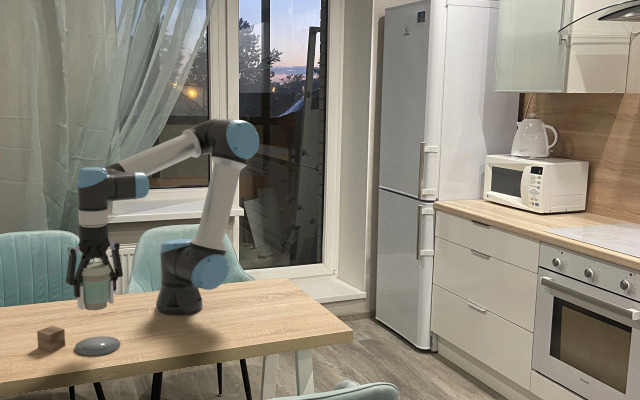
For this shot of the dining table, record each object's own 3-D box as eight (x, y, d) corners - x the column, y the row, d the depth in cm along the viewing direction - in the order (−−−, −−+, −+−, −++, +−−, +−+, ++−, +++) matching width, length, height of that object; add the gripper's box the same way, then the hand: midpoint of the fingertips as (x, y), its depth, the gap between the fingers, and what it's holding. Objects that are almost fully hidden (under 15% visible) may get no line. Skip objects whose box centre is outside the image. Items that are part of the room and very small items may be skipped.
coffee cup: (100, 300, 182) (99, 259, 180) (118, 307, 177) (117, 265, 175) (73, 307, 176) (71, 265, 174) (90, 314, 170) (88, 271, 168)
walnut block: (53, 342, 181) (52, 325, 180) (65, 346, 179) (64, 329, 178) (38, 348, 177) (37, 331, 176) (50, 352, 174) (49, 334, 174)
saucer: (110, 335, 187) (109, 332, 186) (127, 348, 178) (127, 345, 177) (68, 345, 179) (68, 341, 179) (84, 359, 170) (84, 355, 170)
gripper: (123, 218, 182) (125, 294, 185) (50, 226, 169) (53, 308, 172) (135, 222, 176) (136, 301, 180) (59, 231, 163) (62, 316, 167)
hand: (95, 304), depth 176 cm, fingers closed on coffee cup, 8 cm apart
